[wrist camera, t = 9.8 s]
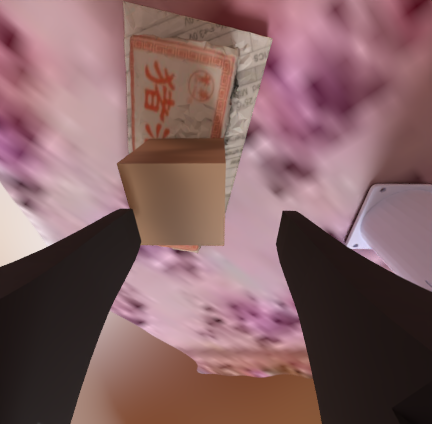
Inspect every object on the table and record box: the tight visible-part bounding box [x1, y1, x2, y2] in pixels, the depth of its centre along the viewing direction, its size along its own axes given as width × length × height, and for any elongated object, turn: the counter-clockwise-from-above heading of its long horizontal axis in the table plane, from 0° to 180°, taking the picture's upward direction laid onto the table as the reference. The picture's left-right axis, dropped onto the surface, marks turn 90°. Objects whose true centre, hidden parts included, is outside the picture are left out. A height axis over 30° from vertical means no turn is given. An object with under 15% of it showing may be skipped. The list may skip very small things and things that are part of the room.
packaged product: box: [123, 1, 272, 253], centre depth 16 cm, size 18×5×10 cm
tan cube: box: [117, 138, 226, 246], centre depth 12 cm, size 5×5×5 cm
